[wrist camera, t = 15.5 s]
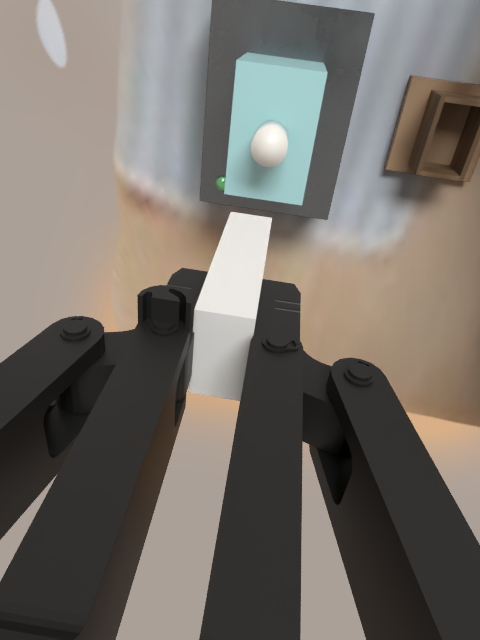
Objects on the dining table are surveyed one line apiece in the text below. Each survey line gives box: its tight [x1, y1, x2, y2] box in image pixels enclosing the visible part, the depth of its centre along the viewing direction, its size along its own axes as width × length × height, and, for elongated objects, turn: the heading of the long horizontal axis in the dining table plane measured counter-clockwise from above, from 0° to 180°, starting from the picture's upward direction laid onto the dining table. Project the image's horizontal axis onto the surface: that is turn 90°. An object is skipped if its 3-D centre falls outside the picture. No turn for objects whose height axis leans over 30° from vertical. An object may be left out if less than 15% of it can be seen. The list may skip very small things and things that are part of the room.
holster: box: [384, 75, 480, 181], centre depth 41 cm, size 8×8×4 cm
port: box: [200, 0, 375, 220], centre depth 41 cm, size 12×16×6 cm
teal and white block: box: [224, 52, 328, 205], centre depth 36 cm, size 6×9×14 cm, turn 174°
